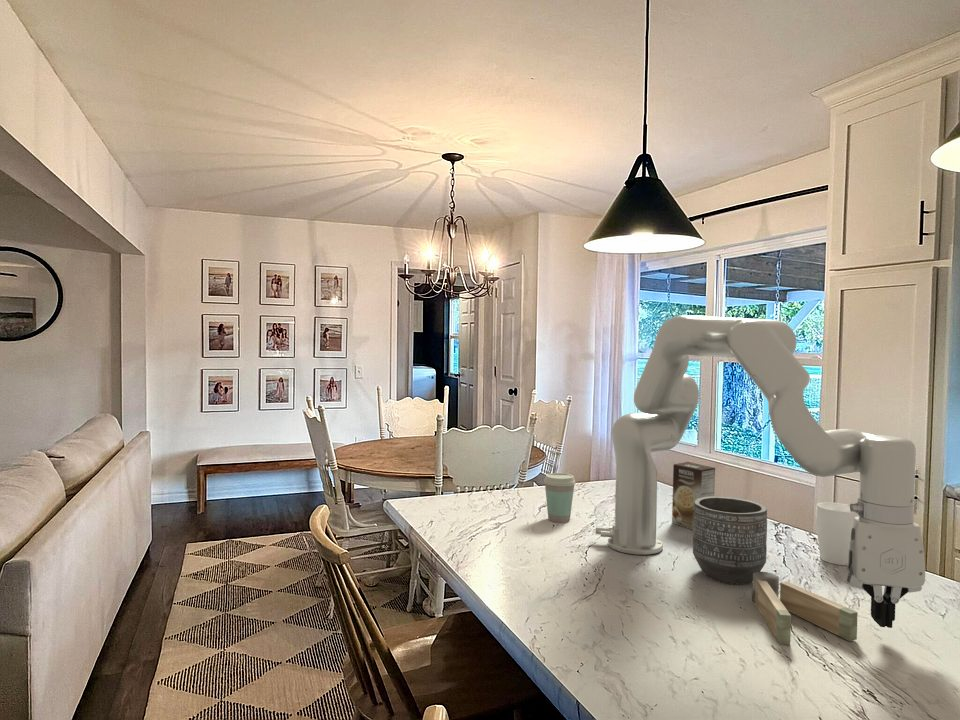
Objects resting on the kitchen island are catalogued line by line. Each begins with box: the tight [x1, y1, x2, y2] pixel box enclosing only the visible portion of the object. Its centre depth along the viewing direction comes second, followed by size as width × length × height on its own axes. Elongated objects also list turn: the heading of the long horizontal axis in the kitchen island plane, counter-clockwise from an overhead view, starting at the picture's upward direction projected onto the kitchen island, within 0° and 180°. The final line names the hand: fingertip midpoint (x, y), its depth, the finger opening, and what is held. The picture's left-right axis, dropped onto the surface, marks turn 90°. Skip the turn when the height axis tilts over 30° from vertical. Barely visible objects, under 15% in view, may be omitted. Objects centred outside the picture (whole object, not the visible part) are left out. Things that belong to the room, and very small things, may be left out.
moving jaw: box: [779, 581, 858, 642], centre depth 109 cm, size 2×14×4 cm, turn 21°
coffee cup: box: [543, 472, 576, 524], centre depth 171 cm, size 8×8×12 cm
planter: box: [692, 495, 768, 585], centre depth 131 cm, size 14×14×15 cm
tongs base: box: [751, 571, 792, 646], centre depth 110 cm, size 4×19×5 cm, turn 170°
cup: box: [814, 501, 859, 566], centre depth 141 cm, size 9×9×12 cm
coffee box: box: [671, 461, 716, 530], centre depth 167 cm, size 9×6×16 cm
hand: (882, 623), depth 103 cm, fingers closed
